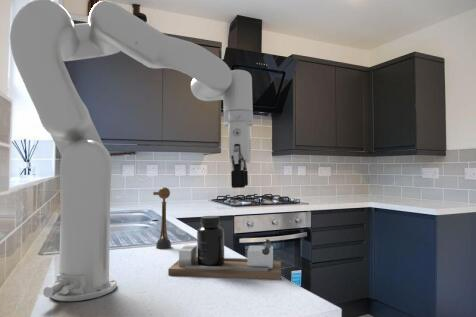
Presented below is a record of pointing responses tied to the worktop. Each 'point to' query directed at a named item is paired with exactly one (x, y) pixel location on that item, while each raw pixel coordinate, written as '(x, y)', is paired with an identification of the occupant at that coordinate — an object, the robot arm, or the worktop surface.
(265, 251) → the block
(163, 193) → the wooden tabletop sculpture
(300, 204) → the worktop surface
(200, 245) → the supplement bottle
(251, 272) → the vise base
